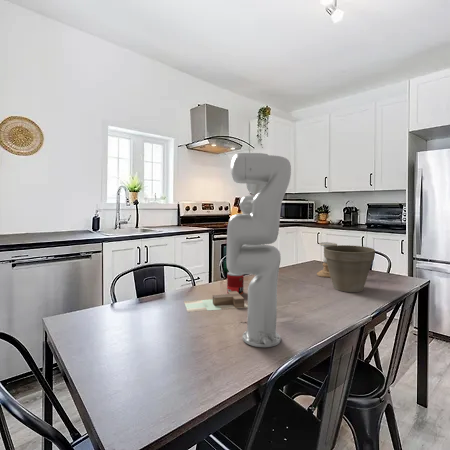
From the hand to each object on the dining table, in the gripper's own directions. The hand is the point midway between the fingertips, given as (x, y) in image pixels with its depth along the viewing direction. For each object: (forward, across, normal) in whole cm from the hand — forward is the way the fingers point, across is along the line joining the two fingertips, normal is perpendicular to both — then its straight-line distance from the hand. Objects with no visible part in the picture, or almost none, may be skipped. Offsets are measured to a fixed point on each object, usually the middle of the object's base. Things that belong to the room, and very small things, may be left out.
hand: (251, 264), depth 140 cm
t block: (+17, 0, +11) cm, 20 cm away
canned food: (+18, +15, +3) cm, 24 cm away
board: (+18, 0, +16) cm, 24 cm away
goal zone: (+18, 0, +22) cm, 28 cm away
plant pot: (+18, +13, -58) cm, 62 cm away
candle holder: (+18, +42, -64) cm, 79 cm away
